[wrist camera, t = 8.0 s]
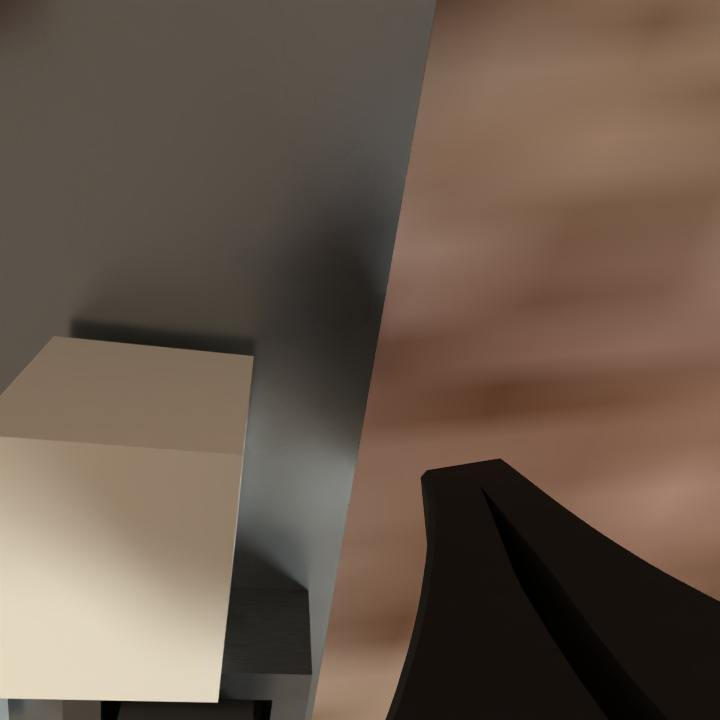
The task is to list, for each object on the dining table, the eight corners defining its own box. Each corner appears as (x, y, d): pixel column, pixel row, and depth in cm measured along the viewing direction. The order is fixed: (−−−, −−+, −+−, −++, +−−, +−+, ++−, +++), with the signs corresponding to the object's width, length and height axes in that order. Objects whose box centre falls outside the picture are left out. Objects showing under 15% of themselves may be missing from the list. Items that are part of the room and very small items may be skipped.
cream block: (253, 356, 10) (242, 454, 8) (233, 558, 12) (217, 702, 9) (54, 336, 10) (-34, 434, 7) (58, 549, 11) (-14, 698, 9)
